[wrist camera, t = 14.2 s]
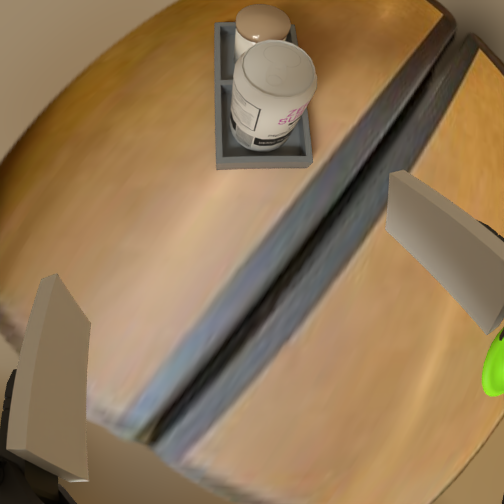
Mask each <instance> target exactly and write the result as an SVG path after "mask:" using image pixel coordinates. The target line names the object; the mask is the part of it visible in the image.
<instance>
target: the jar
mask: <svg viewBox="0 0 504 504" xmlns="http://www.w3.org/2000/svg"><path fill="white" fill-rule="evenodd" d="M290 27H291V22H290V19H289V17H288V16H287V15H286V14H285V13H284V12H283V11H282V10H280V9H278V8H276V7H274V6H270V5H265V4H255V5H250V6H247V7H245V8H243V9H242V10H241V11H240V12H239V13H238V14H237V17H236V34H235V46H234V58H233V60H234V64H235V63H236V62H237V60H238V59H239V58H240V56H241V55H242V54H243V53H244V52H246V51H247V50H248V48H250V47H251V46H253V45H254V44H256V43H258V42H262V41H266V40H283V41H285V40H286V37H287V35H288V33H289V30H290Z"/></svg>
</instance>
